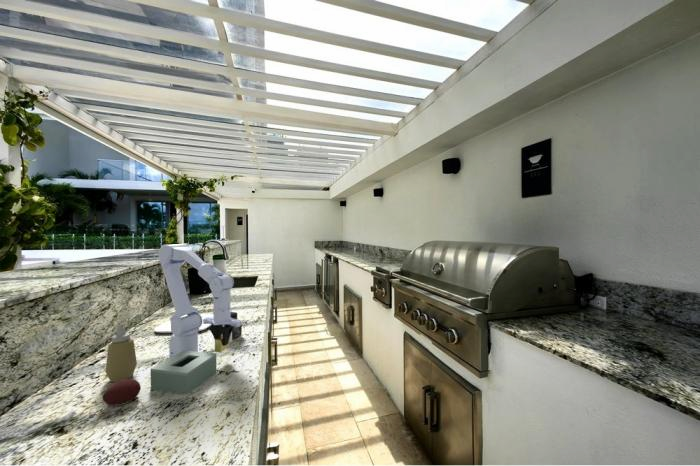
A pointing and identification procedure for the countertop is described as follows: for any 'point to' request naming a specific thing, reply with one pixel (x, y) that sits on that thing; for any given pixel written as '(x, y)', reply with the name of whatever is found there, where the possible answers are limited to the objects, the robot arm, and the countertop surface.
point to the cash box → (183, 372)
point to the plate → (167, 326)
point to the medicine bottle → (235, 328)
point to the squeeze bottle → (121, 356)
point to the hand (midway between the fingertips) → (222, 344)
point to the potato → (121, 392)
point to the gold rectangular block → (220, 344)
